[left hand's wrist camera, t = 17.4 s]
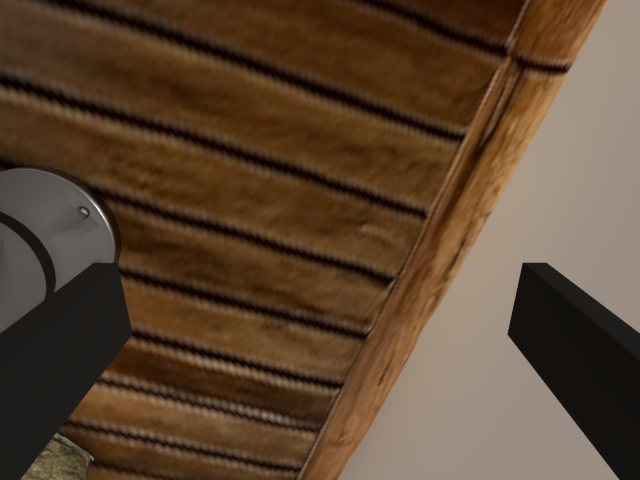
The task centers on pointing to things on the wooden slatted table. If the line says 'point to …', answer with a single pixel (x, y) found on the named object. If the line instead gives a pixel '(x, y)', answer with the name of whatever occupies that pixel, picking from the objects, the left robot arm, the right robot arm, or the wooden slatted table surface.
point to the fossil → (60, 462)
